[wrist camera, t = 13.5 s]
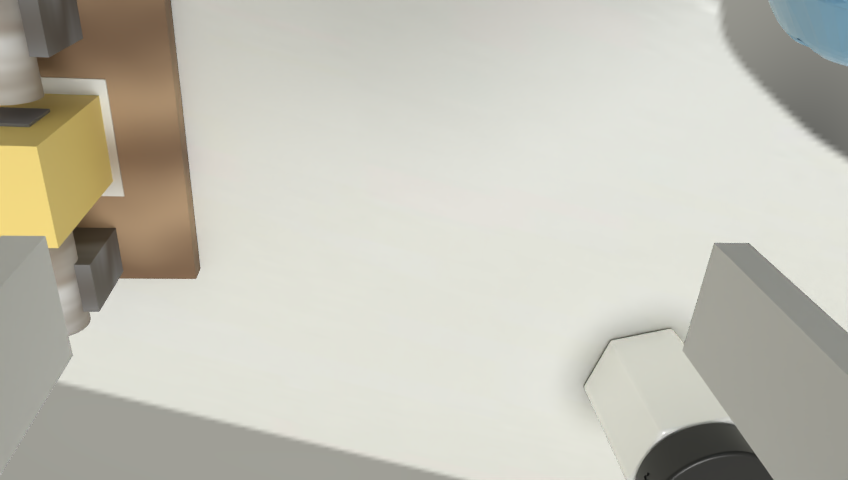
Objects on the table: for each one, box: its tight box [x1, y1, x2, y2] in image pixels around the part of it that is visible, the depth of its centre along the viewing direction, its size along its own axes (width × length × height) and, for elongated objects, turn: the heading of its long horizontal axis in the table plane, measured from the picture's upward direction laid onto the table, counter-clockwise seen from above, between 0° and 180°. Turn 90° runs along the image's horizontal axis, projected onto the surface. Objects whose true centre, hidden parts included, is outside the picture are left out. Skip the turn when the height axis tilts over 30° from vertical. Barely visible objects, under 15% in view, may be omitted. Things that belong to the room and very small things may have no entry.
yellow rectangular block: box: [0, 93, 113, 248], centre depth 33 cm, size 5×5×8 cm
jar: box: [584, 329, 773, 480], centre depth 45 cm, size 9×8×12 cm
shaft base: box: [0, 0, 200, 336], centre depth 35 cm, size 19×13×7 cm
